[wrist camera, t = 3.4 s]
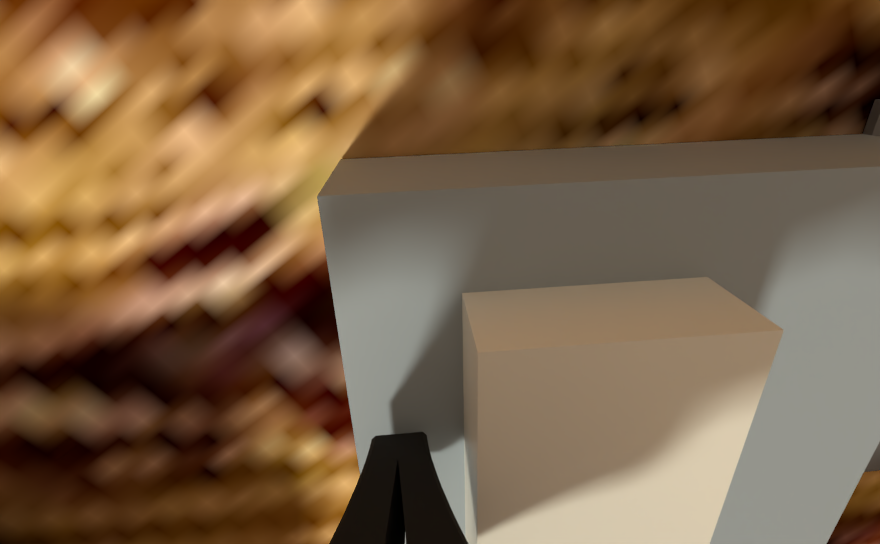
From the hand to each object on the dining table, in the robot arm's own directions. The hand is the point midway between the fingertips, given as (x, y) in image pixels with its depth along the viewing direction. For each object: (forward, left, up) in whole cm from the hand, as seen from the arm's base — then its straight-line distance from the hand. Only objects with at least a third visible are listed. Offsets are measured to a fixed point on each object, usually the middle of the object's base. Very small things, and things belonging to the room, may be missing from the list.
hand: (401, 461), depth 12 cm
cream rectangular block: (0, -5, -1) cm, 5 cm away
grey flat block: (0, -7, -5) cm, 8 cm away
